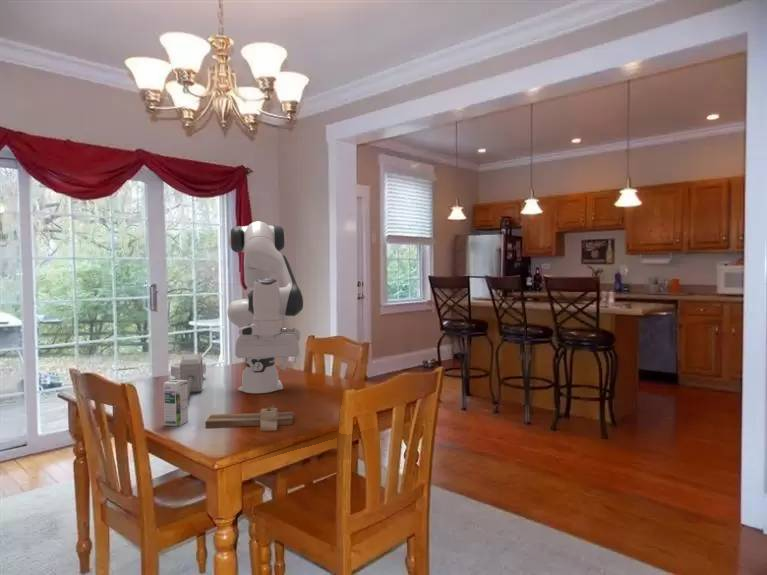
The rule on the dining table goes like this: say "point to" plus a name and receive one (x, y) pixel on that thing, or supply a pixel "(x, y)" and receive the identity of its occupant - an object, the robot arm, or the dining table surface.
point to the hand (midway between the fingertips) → (268, 370)
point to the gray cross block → (176, 370)
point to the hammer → (192, 372)
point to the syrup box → (175, 402)
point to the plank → (245, 419)
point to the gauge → (269, 418)
